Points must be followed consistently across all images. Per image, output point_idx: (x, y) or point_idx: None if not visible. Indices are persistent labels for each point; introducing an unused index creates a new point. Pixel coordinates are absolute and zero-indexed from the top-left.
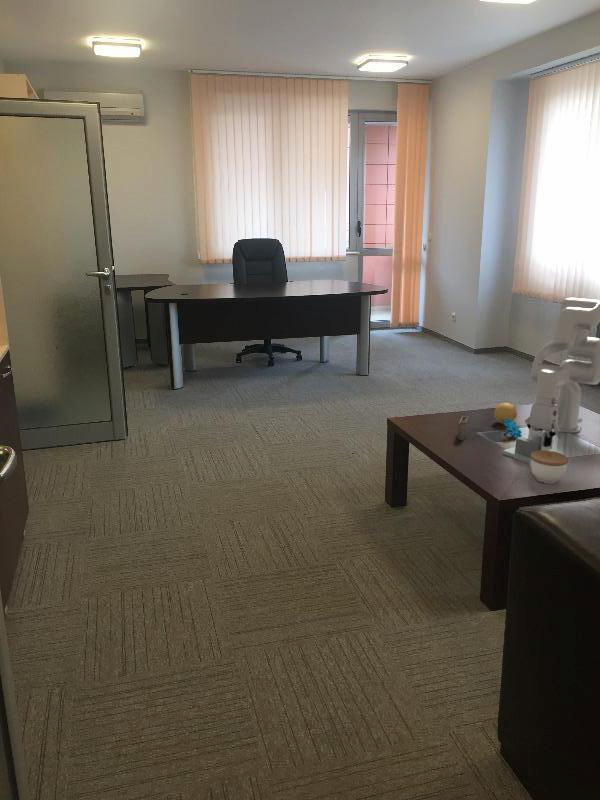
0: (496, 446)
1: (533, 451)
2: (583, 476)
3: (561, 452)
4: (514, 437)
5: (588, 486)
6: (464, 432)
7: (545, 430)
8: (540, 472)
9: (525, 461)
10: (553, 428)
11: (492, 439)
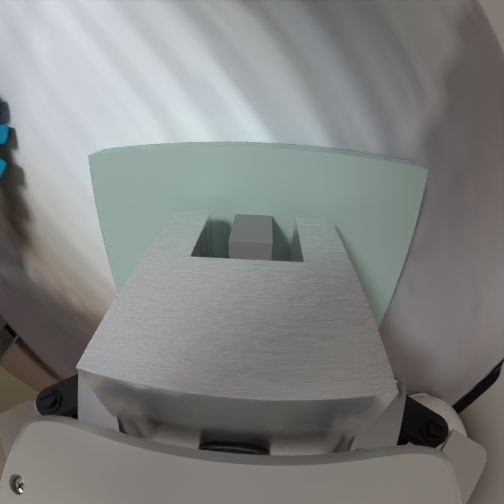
0: (72, 318)
1: None
2: (500, 316)
3: (395, 165)
4: (2, 173)
5: (500, 355)
6: (5, 355)
7: (291, 450)
8: None
9: None
10: (400, 453)
11: (4, 258)
